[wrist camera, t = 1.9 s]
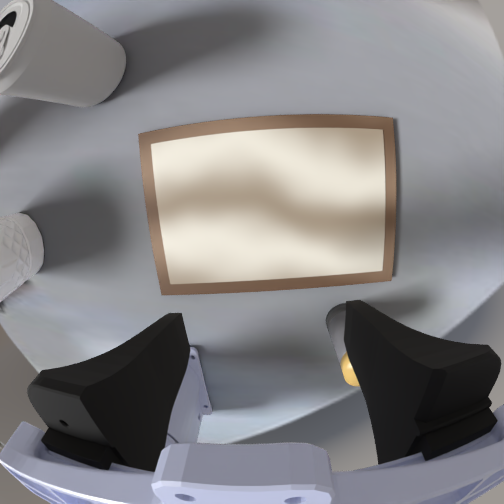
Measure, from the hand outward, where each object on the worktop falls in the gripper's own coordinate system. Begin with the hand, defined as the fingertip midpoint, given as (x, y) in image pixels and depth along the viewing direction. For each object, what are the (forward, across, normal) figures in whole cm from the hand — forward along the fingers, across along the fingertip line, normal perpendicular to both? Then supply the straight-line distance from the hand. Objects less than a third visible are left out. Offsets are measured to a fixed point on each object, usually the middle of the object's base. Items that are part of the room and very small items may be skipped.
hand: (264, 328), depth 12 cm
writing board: (+10, -1, -4) cm, 11 cm away
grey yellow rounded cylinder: (+10, -6, +6) cm, 14 cm away
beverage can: (+11, +12, -17) cm, 23 cm away
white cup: (+11, +25, -3) cm, 27 cm away
